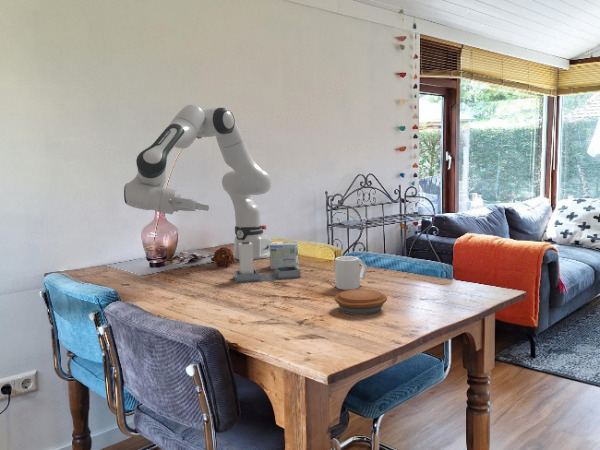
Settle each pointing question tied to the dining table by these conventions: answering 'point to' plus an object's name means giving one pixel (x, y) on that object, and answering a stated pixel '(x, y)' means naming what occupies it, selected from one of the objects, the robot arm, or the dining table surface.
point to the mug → (349, 272)
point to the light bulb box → (283, 254)
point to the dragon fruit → (223, 257)
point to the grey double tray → (268, 275)
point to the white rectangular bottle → (246, 258)
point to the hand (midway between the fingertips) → (208, 208)
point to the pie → (360, 301)
